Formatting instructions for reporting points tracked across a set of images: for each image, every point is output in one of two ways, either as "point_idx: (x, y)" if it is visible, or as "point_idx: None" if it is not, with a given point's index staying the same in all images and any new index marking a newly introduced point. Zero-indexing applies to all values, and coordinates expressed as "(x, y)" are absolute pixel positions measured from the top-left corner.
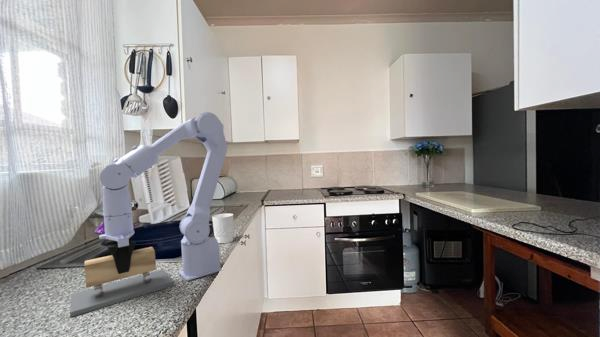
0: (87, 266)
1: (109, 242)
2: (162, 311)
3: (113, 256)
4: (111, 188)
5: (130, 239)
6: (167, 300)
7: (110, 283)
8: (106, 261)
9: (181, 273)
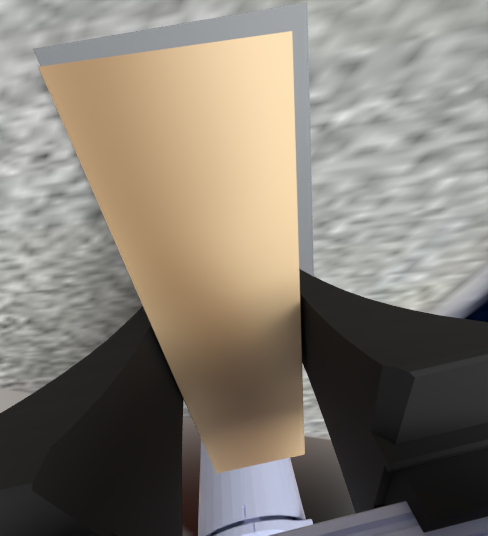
0: (65, 110)
1: (385, 403)
2: (6, 354)
3: (62, 377)
4: None
5: (353, 499)
6: (79, 359)
7: (309, 194)
8: (134, 282)
9: None
